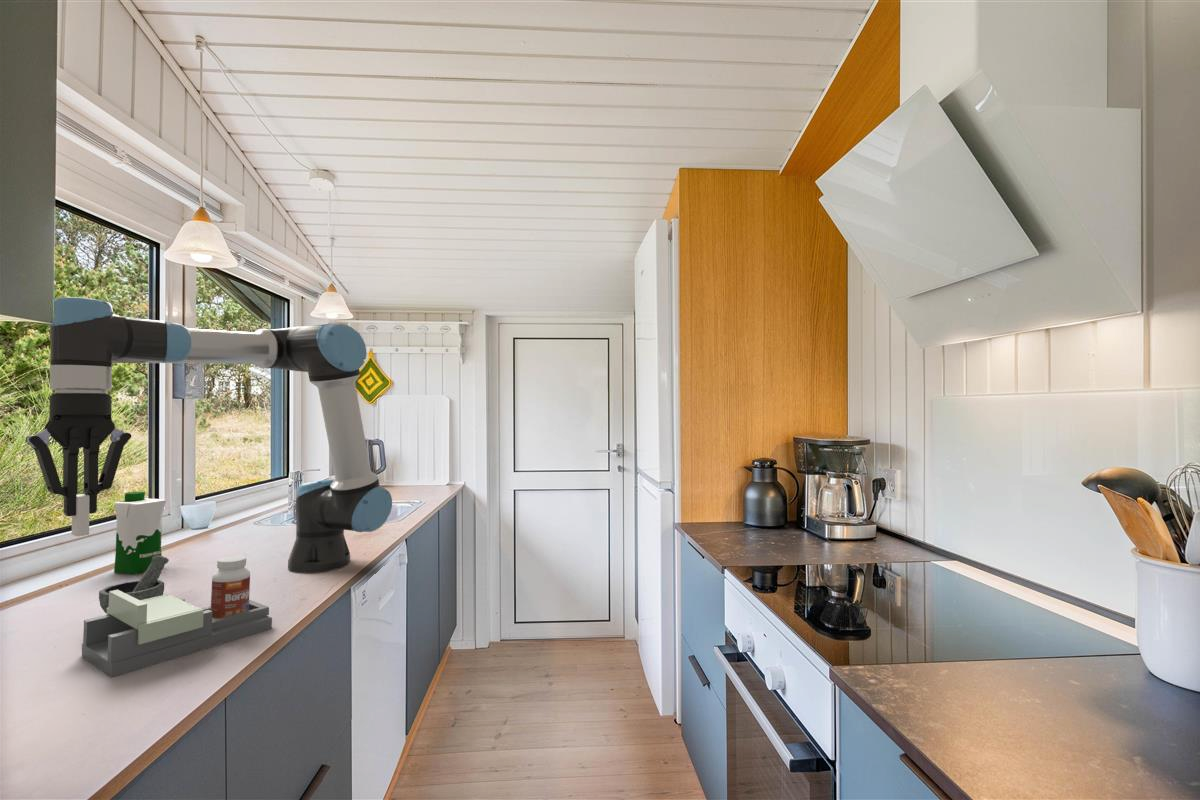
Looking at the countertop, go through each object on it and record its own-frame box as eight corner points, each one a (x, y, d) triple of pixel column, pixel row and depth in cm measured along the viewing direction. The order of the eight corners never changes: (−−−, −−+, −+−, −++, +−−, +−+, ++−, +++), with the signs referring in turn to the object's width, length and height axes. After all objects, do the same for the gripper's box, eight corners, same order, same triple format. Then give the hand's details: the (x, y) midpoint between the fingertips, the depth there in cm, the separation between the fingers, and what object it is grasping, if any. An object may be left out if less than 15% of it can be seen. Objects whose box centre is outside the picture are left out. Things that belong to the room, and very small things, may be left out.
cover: (167, 610, 105) (168, 578, 105) (203, 627, 97) (204, 592, 97) (106, 625, 97) (107, 590, 97) (138, 644, 89) (140, 607, 89)
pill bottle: (224, 624, 103) (226, 564, 103) (202, 619, 105) (204, 560, 105) (256, 613, 109) (258, 556, 109) (234, 609, 111) (236, 553, 111)
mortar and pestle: (118, 634, 103) (121, 569, 103) (85, 627, 106) (88, 564, 106) (181, 614, 114) (183, 555, 114) (149, 608, 117) (151, 551, 117)
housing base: (238, 612, 114) (239, 583, 115) (274, 627, 107) (274, 596, 107) (81, 655, 94) (82, 619, 94) (111, 677, 86) (112, 638, 87)
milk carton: (142, 564, 150) (144, 490, 151) (169, 566, 148) (171, 491, 149) (107, 573, 142) (109, 494, 142) (134, 576, 139) (137, 496, 140)
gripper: (122, 393, 99) (121, 524, 99) (19, 391, 88) (17, 539, 88) (139, 392, 95) (138, 529, 95) (33, 391, 84) (32, 546, 84)
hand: (80, 534), depth 92 cm, fingers closed
